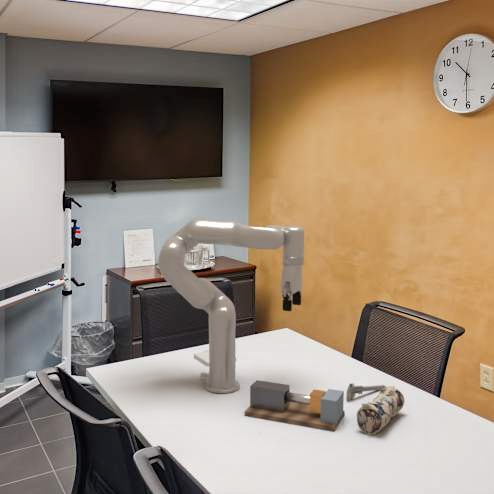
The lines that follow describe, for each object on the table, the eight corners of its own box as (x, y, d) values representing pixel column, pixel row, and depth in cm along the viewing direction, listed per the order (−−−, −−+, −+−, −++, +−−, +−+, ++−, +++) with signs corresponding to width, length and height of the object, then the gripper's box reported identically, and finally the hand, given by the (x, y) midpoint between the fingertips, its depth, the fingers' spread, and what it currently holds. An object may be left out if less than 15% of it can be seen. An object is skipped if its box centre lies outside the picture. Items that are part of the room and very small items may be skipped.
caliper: (348, 402, 215) (349, 385, 214) (346, 401, 216) (346, 384, 215) (387, 388, 228) (388, 371, 227) (384, 387, 229) (385, 371, 228)
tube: (277, 406, 204) (277, 389, 203) (281, 401, 208) (282, 384, 207) (332, 415, 197) (332, 397, 196) (335, 410, 201) (336, 392, 200)
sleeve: (250, 407, 207) (250, 386, 206) (256, 400, 212) (256, 380, 211) (283, 413, 202) (283, 391, 201) (289, 406, 208) (289, 385, 206)
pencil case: (381, 439, 188) (382, 408, 186) (354, 432, 192) (355, 402, 191) (405, 413, 206) (406, 385, 204) (380, 408, 210) (381, 380, 209)
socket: (320, 421, 196) (320, 398, 195) (328, 410, 204) (328, 388, 203) (336, 424, 194) (336, 401, 193) (343, 413, 202) (343, 391, 201)
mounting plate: (239, 364, 254) (239, 359, 254) (210, 369, 248) (210, 364, 248) (218, 351, 270) (218, 347, 270) (191, 356, 263) (191, 352, 263)
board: (244, 415, 204) (244, 411, 204) (259, 401, 216) (259, 396, 215) (334, 431, 192) (334, 426, 192) (344, 415, 204) (344, 410, 204)
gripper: (291, 256, 231) (290, 301, 234) (274, 263, 216) (273, 312, 218) (310, 258, 228) (309, 303, 231) (294, 265, 213) (293, 314, 215)
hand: (291, 307), depth 225 cm, fingers open, 9 cm apart
